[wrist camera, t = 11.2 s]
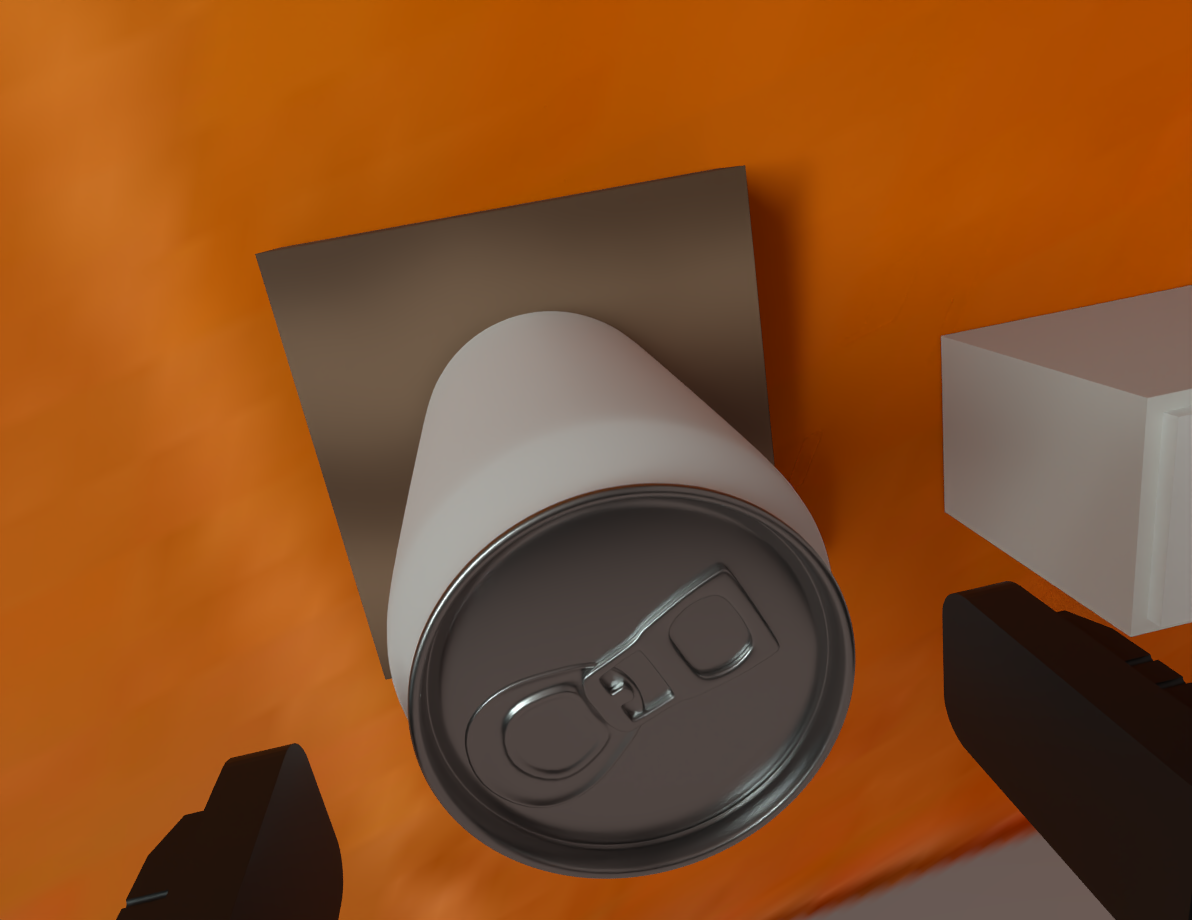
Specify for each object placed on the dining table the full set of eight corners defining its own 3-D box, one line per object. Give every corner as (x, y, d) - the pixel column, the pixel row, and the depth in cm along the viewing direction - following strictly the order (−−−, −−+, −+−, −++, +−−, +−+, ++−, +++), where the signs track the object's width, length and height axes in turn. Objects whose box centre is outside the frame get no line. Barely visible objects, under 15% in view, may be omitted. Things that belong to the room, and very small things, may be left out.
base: (279, 247, 21) (255, 254, 19) (716, 168, 22) (745, 165, 20) (394, 634, 25) (385, 679, 23) (758, 553, 26) (786, 588, 24)
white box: (940, 335, 24) (1162, 402, 17) (1207, 281, 25) (1540, 321, 17) (944, 511, 26) (1143, 646, 19) (1190, 456, 27) (1483, 563, 19)
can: (372, 403, 20) (247, 666, 9) (582, 255, 20) (731, 333, 8) (520, 585, 22) (571, 981, 11) (711, 454, 22) (967, 728, 11)
